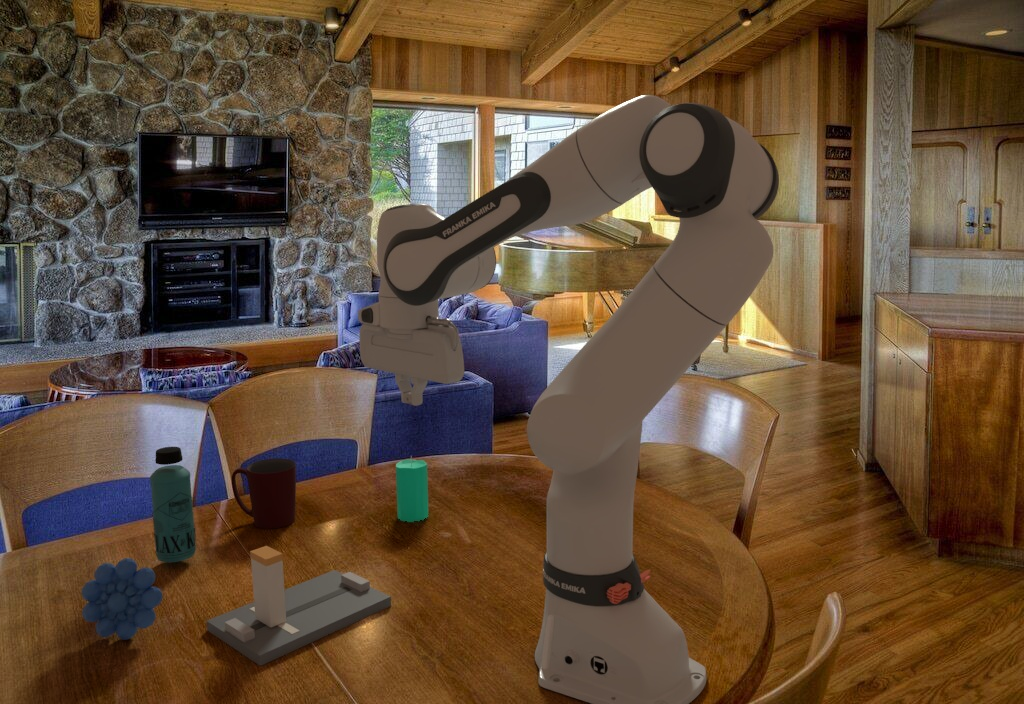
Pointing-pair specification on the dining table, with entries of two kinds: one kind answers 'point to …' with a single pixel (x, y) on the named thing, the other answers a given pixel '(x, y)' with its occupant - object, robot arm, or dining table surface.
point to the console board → (301, 616)
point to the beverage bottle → (172, 508)
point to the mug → (269, 492)
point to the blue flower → (121, 599)
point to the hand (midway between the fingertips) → (412, 403)
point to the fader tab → (268, 586)
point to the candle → (412, 490)
